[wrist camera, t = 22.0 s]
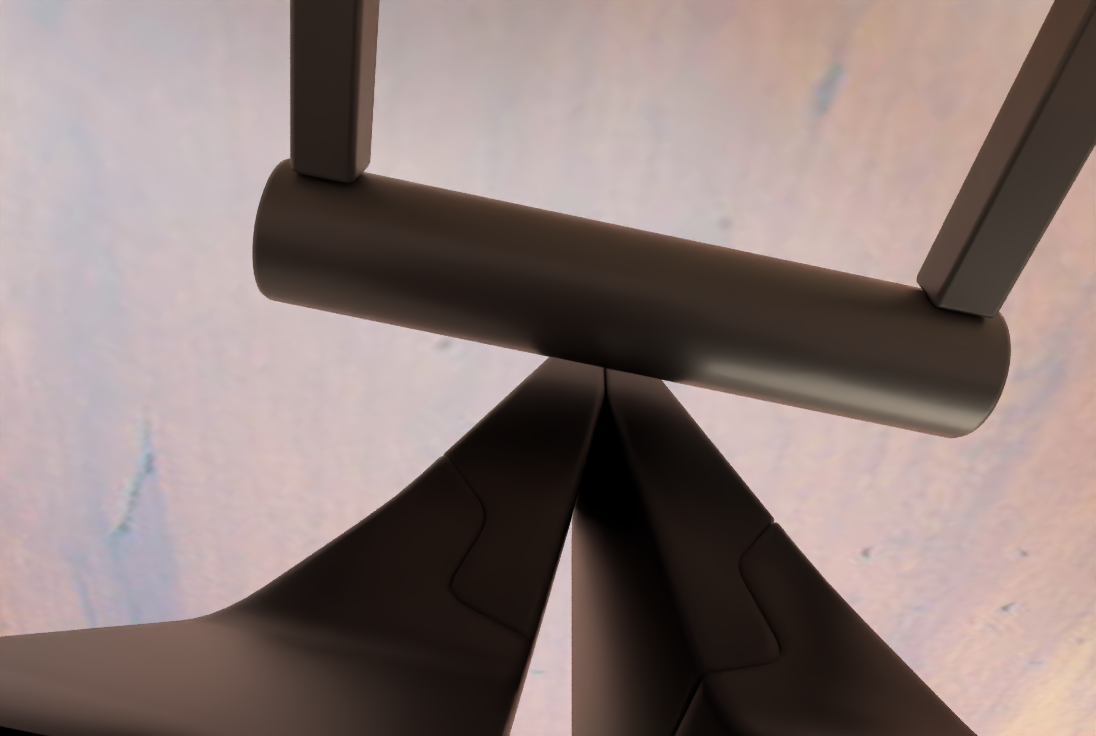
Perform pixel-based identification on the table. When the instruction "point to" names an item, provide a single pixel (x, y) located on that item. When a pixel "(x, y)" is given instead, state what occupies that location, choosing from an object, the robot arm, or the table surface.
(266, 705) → the robot arm
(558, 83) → the table surface
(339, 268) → the drawer
